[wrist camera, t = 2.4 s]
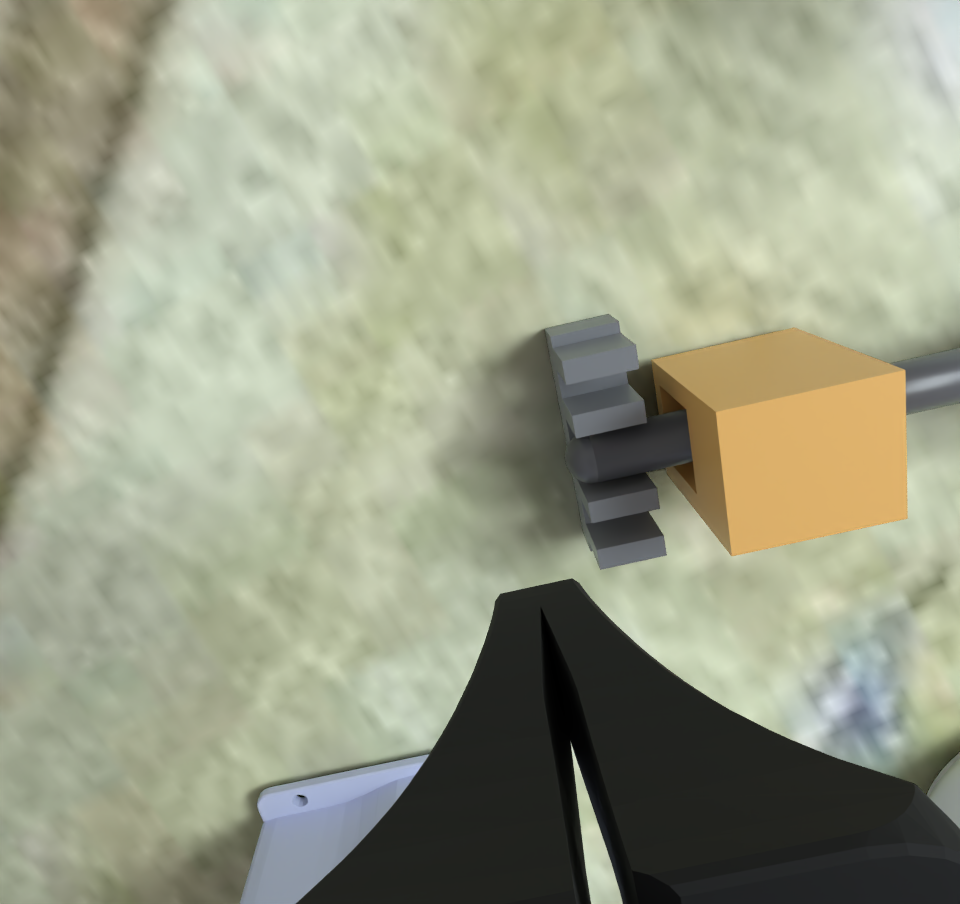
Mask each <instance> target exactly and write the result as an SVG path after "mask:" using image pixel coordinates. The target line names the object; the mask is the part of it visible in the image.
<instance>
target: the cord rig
mask: <svg viewBox="0 0 960 904" xmlns="http://www.w3.org/2000/svg"><path fill="white" fill-rule="evenodd" d="M545 334H546V339H547V344H548V349H549V355H550V360H551V365H552V370H553V376H554V381H555V386H556V392H557V397H558V402H559V407H560V413H561V418H562V423H563V428H564V434H565V439H566V444H567V448H566V452H565V462H566V466H567V468H568V470H569V472H570V473H571V474H572V476H573V481H574V486H575V492H576V497H577V502H578V507H579V513H580V518H581V523H582V528H583V533H584V536H585V538H586V541H587V543H588V546H589V548H590V551H593V553H594V556H595V558H596V560H597V563H598V565H599V568H600V570H601V569H606V568H610V567H615V566H620V565H624V564H629V563H633V562H638V561H643V560H647V559H652V558H657V557H661V556H666V555H667V554H666V548H665V541H664V535H663V534H662V532H661V531H660V529H659V527H658V526H657V524H656V523H655V521H654V520H653V518H652V516H651V515H650V513H649V512H648V511H651V510H656V509H660V507H659V500H658V493H657V487H656V486H655V485H654V483H653V482H652V481H651V479H650V478H649V476H648V475H647V474H646V472H649V471H654V470H658V469H663V468H667V467H672V466H676V465H681V464H685V463H690V462H693V459H692V451H691V443H690V436H689V428H688V420H687V412H686V409H682V410H678V411H673V412H669V413H664V414H660V415H655V416H651V417H647V418H646V411H645V404H644V400H643V398H642V397H641V396H640V395H639V394H638V393H637V392H636V391H635V390H634V389H633V388H632V387H631V386H630V385H629V384H628V379H627V371H632V370H636V369H639V363H638V356H637V350H636V344H634V343H633V342H632V341H630V340H629V339H628V338H627V337H625V336H624V335H623V334H622V333H620V326H619V321H618V320H616V319H615V318H614V317H612V316H611V315H609V314H607V315H602V316H598V317H594V318H589V319H585V320H580V321H576V322H572V323H567V324H563V325H559V326H554V327H550V328H545ZM889 364H891V365H894V366H897V367H899V368H902V369H904V370H905V374H906V415H908V414H913V413H917V412H922V411H926V410H931V409H935V408H940V407H944V406H949V405H953V404H958V403H960V348H956V349H952V350H947V351H943V352H938V353H934V354H929V355H925V356H920V357H916V358H911V359H907V360H902V361H898V362H893V363H889Z"/></svg>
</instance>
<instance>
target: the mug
mask: <svg viewBox="0 0 960 904" xmlns="http://www.w3.org/2000/svg"><path fill="white" fill-rule="evenodd" d="M927 796H928V797H929V798H930V799H931V800H932V801H933V802H934V803H935V804H936V805H937V806H938V807H939V808H940V809H941V810H942V811H943V812H944V813H945V814H946V815H947V816H948V817H949V818H950V819H951V820H952V821H953V822H954V823H955V824H956V825H957V826H958V827H959V828H960V753H958V754H957V755H956V756H955V757H954V758H953V759H952V760H951V761H950V762H949V763H948V764H947V765H946V766H945V767H944V768H943V769H942V770H941V772H940V773H939V774H938V776H937V777H936V779H935V780H934V781H933V783H932V785H931V787H930V789H929V791H928V793H927Z"/></svg>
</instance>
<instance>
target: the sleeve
mask: <svg viewBox="0 0 960 904" xmlns="http://www.w3.org/2000/svg"><path fill="white" fill-rule="evenodd" d="M651 362H652V369H653V377H654V384H655V391H656V398H657V405H658V412H659V415H660V414H664V413H669V412H673V411H678V410H682V409H686V412H687V420H688V428H689V436H690V443H691V451H692V459H693V462H690V463H685V464H681V465H676V466H672V467H667V468H666V469H667V475H668V476H669V477H670V479H671V480H672V481H673V482H674V484H675V485H676V486H677V487H678V489H679V490H680V491H681V493H682V494H683V495H684V496H685V498H686V499H687V500H688V501H689V503H690V504H691V505H692V506H693V508H694V509H695V510H696V512H697V513H698V514H699V515H700V517H701V518H702V519H703V520H704V522H705V523H706V524H707V525H708V527H709V528H710V529H711V531H712V532H713V533H714V534H715V536H716V537H717V538H718V539H719V541H720V542H721V543H722V544H723V546H724V547H725V548H726V550H727V551H728V552H729V553H730V555H731V556H736V555H740V554H745V553H750V552H754V551H759V550H763V549H768V548H773V547H777V546H782V545H787V544H791V543H796V542H801V541H805V540H810V539H815V538H819V537H824V536H829V535H833V534H838V533H842V532H847V531H852V530H856V529H861V528H866V527H870V526H875V525H880V524H884V523H889V522H894V521H898V520H903V519H907V447H906V374H905V370H904V369H902V368H899V367H897V366H894V365H891V364H889V363H886V362H883V361H881V360H878V359H876V358H873V357H870V356H868V355H865V354H862V353H860V352H857V351H855V350H852V349H849V348H847V347H844V346H841V345H839V344H836V343H834V342H831V341H828V340H826V339H823V338H820V337H818V336H815V335H813V334H810V333H807V332H805V331H802V330H799V329H797V328H790V329H786V330H781V331H777V332H773V333H768V334H764V335H759V336H755V337H750V338H746V339H742V340H737V341H733V342H728V343H724V344H719V345H715V346H711V347H706V348H702V349H697V350H693V351H688V352H684V353H679V354H675V355H671V356H666V357H662V358H657V359H653V360H651Z"/></svg>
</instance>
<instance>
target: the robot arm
mask: <svg viewBox="0 0 960 904" xmlns="http://www.w3.org/2000/svg"><path fill="white" fill-rule="evenodd" d="M570 741H571V742H570ZM571 744H572V747H573V750H574V753H575V756H576V759H577V762H578V765H579V768H580V771H581V774H582V777H583V780H584V783H585V786H586V789H587V791H588V794H589V797H590V800H591V803H592V806H593V809H594V812H595V815H596V818H597V821H598V824H599V827H600V830H601V833H602V836H603V839H604V842H605V845H606V848H607V851H608V854H609V857H610V860H611V863H612V866H613V869H614V873H615V876H616V880H617V883H618V886H619V890H620V893H621V897H622V901H623V904H960V828H959V827H958V826H957V825H956V824H955V823H954V822H953V821H952V820H951V819H950V818H949V817H948V816H947V815H946V814H945V813H944V812H943V811H942V810H941V809H940V808H939V807H938V806H937V805H936V804H935V803H934V802H933V801H932V800H931V799H930V798H929V797H928V796H927V795H926V794H925V793H924V792H923V791H922V790H921V789H920V788H919V787H918V786H917V785H915V784H914V783H911V782H908V781H905V780H902V779H899V778H896V777H893V776H889V775H886V774H883V773H880V772H877V771H874V770H871V769H868V768H865V767H862V766H859V765H856V764H853V763H850V762H846V761H843V760H840V759H837V758H835V757H832V756H829V755H827V754H824V753H822V752H820V751H817V750H815V749H812V748H810V747H807V746H805V745H802V744H800V743H798V742H795V741H793V740H790V739H788V738H786V737H784V736H781V735H779V734H777V733H775V732H773V731H770V730H768V729H766V728H764V727H762V726H761V725H759V724H757V723H755V722H753V721H751V720H749V719H747V718H745V717H743V716H741V715H739V714H737V713H735V712H733V711H731V710H729V709H728V708H726V707H724V706H722V705H721V704H719V703H717V702H716V701H714V700H712V699H711V698H709V697H708V696H706V695H704V694H703V693H701V692H700V691H698V690H697V689H695V688H694V687H692V686H691V685H689V684H688V683H686V682H685V681H683V680H682V679H681V678H679V677H678V676H676V675H675V674H674V673H672V672H671V671H670V670H668V669H667V668H666V667H664V666H663V665H662V664H661V663H659V662H658V661H657V660H655V659H654V658H653V657H652V656H650V655H649V654H648V653H647V652H646V651H644V650H643V649H642V648H641V647H640V646H639V645H637V644H636V643H635V642H634V641H633V640H632V639H631V638H630V637H629V636H627V635H626V634H625V633H624V632H623V631H622V630H621V629H620V628H619V627H618V626H617V625H616V624H615V623H614V622H613V621H612V620H611V619H610V618H609V617H608V616H607V615H606V614H605V613H604V612H603V611H602V610H601V609H600V608H599V607H598V606H597V605H596V604H595V602H594V601H593V600H592V599H591V598H590V597H589V595H588V594H587V593H586V592H585V590H584V589H583V588H582V586H581V585H580V583H578V582H577V581H575V580H574V579H567V580H563V581H558V582H553V583H549V584H544V585H539V586H535V587H530V588H525V589H521V590H516V591H511V592H507V593H502V594H500V595H499V597H498V598H497V599H496V601H495V607H494V612H493V616H492V620H491V623H490V627H489V630H488V633H487V636H486V639H485V642H484V645H483V648H482V650H481V653H480V656H479V658H478V661H477V663H476V666H475V669H474V671H473V673H472V676H471V678H470V680H469V682H468V684H467V686H466V689H465V691H464V693H463V695H462V697H461V699H460V701H459V703H458V705H457V708H456V710H455V711H454V713H453V715H452V717H451V719H450V721H449V723H448V724H447V726H446V728H445V730H444V731H443V733H442V735H441V736H440V738H439V740H438V741H437V743H436V745H435V746H434V748H433V749H432V751H431V753H430V754H427V755H422V756H418V757H413V758H408V759H403V760H398V761H394V762H389V763H384V764H379V765H374V766H370V767H365V768H360V769H355V770H351V771H346V772H341V773H336V774H331V775H327V776H322V777H317V778H312V779H307V780H303V781H298V782H293V783H288V784H284V785H279V786H274V787H269V788H267V789H264V790H263V791H262V792H261V793H260V796H259V799H258V802H257V808H258V811H259V813H260V815H261V818H262V820H263V822H264V823H263V825H262V829H261V832H260V835H259V839H258V842H257V846H256V849H255V852H254V856H253V859H252V863H251V866H250V870H249V873H248V876H247V880H246V883H245V887H244V890H243V893H242V897H241V900H240V904H591V901H590V894H589V888H588V882H587V875H586V869H585V860H584V852H583V843H582V835H581V826H580V818H579V809H578V801H577V792H576V784H575V775H574V767H573V759H572V750H571ZM297 795H303V796H306V797H298V796H297Z"/></svg>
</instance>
